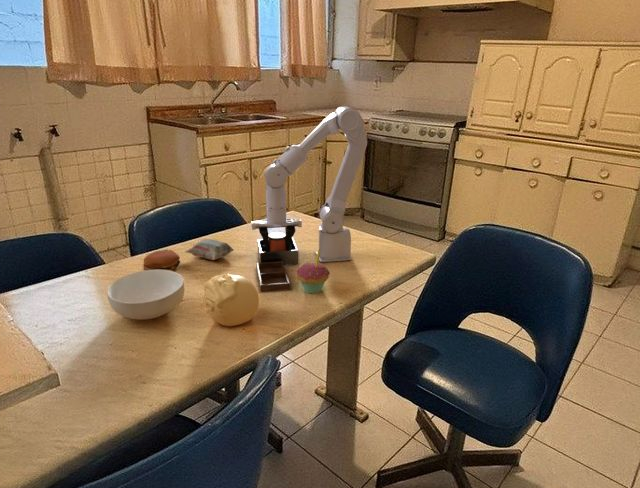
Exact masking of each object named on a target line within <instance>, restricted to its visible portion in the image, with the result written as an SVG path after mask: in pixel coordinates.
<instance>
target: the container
mask: <svg viewBox="0 0 640 488" xmlns="http://www.w3.org/2000/svg"><path fill="white" fill-rule="evenodd" d="M268 241H269V252H270V251H286V233H285V232H280V231H277V232H276V231H275V232H270V233H268Z"/></svg>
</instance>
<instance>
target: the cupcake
mask: <svg viewBox="0 0 640 488" xmlns="http://www.w3.org/2000/svg"><path fill="white" fill-rule="evenodd" d="M317 251H318V253H317V255H316V258H315V259H316V260H315V262H306V263H303V264H302V265H300V266H299V267H297V269H296V273H295V278H296V279H297V280H298V281H300V283H301V285H302V288H303V290H304V292H306V293H308V294H318V293H321V292H322V291H323V288H324V285H325V283H326V282H327V280H329V277H330V274H331V272H330V270H329V268H327V267H326V266H325V265H324V264H322V263H320V261H319V257H320V249H319V248H318V250H317Z"/></svg>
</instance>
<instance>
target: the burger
mask: <svg viewBox="0 0 640 488" xmlns="http://www.w3.org/2000/svg"><path fill="white" fill-rule="evenodd" d="M180 259H181V256H180V254H178V253H177V252H175V251H174V250H172V249H161V250H156V251H153V252H150V253H148V254H147V255H146V256H145V257H144V259H143V271H146V270H169V271H174V270H175V269H177V268H178V267H179V265H180V264H181V261H180Z"/></svg>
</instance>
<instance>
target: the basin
mask: <svg viewBox="0 0 640 488" xmlns="http://www.w3.org/2000/svg"><path fill="white" fill-rule="evenodd" d="M268 243H269V241H268ZM257 255H258V259H259V263H267V262H281V261H283V264H284V266H296V265H299V248H298V246H297V244H296V242H295V239H294V236H293V237H292V240H291V242H290V246H289V250H286V251H270V252H267V251H266V245H265V242H264V240H263V238H259V239H258V238H257Z"/></svg>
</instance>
